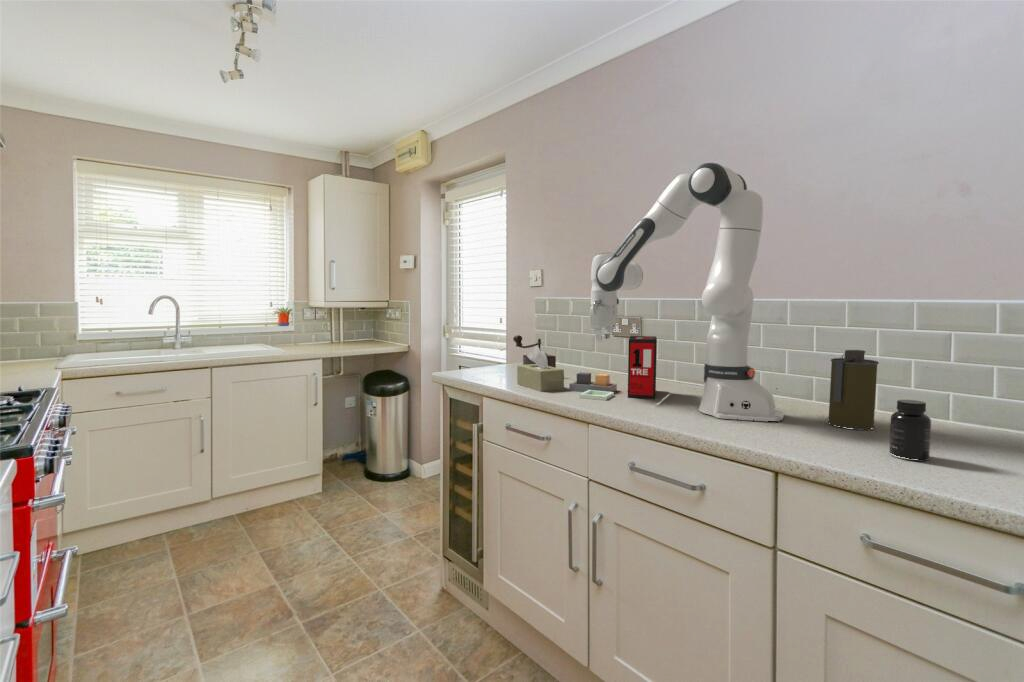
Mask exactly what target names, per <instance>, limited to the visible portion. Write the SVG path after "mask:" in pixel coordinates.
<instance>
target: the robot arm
mask: <svg viewBox="0 0 1024 682" xmlns="http://www.w3.org/2000/svg"><path fill="white" fill-rule="evenodd" d="M763 203H764V202H763V198H762V196H761V195H760V194H759V193H758V192H756V191H754V190H750V189H748V187H747V183H746V181H745V179H744V178H743V177H742V176H741V175H740V174H739V173H736V172H735V171H733V170H732V169H731V168H729V167H727V166H724V165H721V164H719V163H715V162H706V163H703V164H700V165H698V166H696V167H695V168H694V169H693V170H692V171H691V174H690V173H682V174H681V173H680V174H679V175H677V176H676V177H675V178H673V180H672V181H671V182H670V183H669V184H668V185H667V187H666V188H664V190H663V191H662V193H660V195H659V197H658V198H657V199H656V201H655V202H654V204H653V205H652V207H651V208H650V210H648V212H647V213H646V214H645V215H644V216H643V217H642V218H641V220H639V222H637V224H635V226H634V227H633V228H632V229H631V230H630V231H629V232H628V234H627V235H626V236H625V238H623V240H622V242H620V244H619V245H618V246H617V247H616V249H615V250H614V252H603V253H599V254H596V255H595V256H594V257H593V258H592V262H591V268H590V269H591V270H590V280H591V289H590V305H591V306H590V308H589V309H590V310H589V320H588V321H589V323H588V325H589V328H591V329H593V328H594V329H593V330H594V334H595V340H596V341H598V342H600V341H603V338H604V339H605V340H609V339H611V333H612V330H613V329H612V328H613V326H616V325H617V320H618V311H619V310H618V306H619V305H620V298H618V296H617V294H618V293H617V291H632V290H636V289H638V288H639V286H641V284H642V283H643V279H644V271H643V269H642V267H641V266H640V265H639V264H638V263H635V262H633V261H634V259H635V258H636V257H637V256H638V255H639V253H640V252H641V251H642V250H643V249H644V248H645V247H646V246H647V245H649V244H650V243H653V242H656V241H658V240H662V239H665V238H669V237H671V236H674V234H676V233H677V232H678V231H679V230H680V229H681V228H682V226H684V224H685V223H686V221H687V220H688V219H689V218H690V215H691V214H692V213H693V212H694V210H695V209H697V207H699V206H700V205H702V204H706V205H708V206H710V207H713V208H717V209H719V211H720V221H719V228H718V232H717V233H718V234H717V238H716V245H715V246H716V247H715V252H714V257H713V261H712V263H711V267H710V270H709V273H708V277H707V280H706V284H705V287H704V290H703V291H702V294H701V303H702V306H703V308H704V309H705V310H706V311H707V312H708V314H710V315H711V320H710V325H709V331H708V332H707V336H706V353H705V354H706V359H705V364H704V368H703V382H704V385H703V393H702V398H701V401H700V405H699V407H698V411H699V412H701V413H703V414H705V415H706V414H707V415H709V416H712V417H715V418H717V419H723V420H737V419H738V420H740V421H753V420H754V421H755V422H768V421H778V422H780V420H781V421H783V420H782V419H784V412H783V411H781V410H779V409H777V408H776V402H775V398H774V396H773V394H772V392H770V390H768V389H767V388H766V387H765V386H763V385H762V384H760V383H759V382H758V381H757V380H756V379H754V378H755V375H756V370H755V369H754V368H753V367H751V366H749V365H748V348H749V347H748V343H749V342H748V341H749V333H750V327H751V320H752V313H753V306H754V305H753V304H754V303H753V302H754V294H753V291H752V288H751V287H750V286H749V283H750V279H751V277H752V276H751V275H752V272H753V270H754V266H755V263H756V262H757V257H758V252H759V245H760V239H761V234H762V233H761V232H762V228H763V217H764V213H763V212H764V209H763V208H764V206H763ZM602 328H604V330H605V332H604V337H603V335H602Z"/></svg>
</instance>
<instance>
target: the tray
mask: <svg viewBox="0 0 1024 682" xmlns="http://www.w3.org/2000/svg"><path fill="white" fill-rule="evenodd" d="M614 396H615V392H607V391H596V390H587V391H585V392H581V393H579V399H586V400H598V401H607V400H609V399H611V398H614Z"/></svg>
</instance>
